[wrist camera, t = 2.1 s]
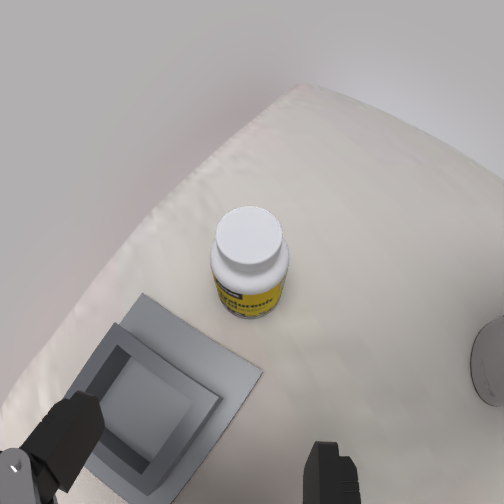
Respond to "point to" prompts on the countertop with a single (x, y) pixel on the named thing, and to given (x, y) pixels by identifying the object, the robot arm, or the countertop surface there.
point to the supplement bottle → (249, 261)
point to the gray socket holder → (159, 401)
